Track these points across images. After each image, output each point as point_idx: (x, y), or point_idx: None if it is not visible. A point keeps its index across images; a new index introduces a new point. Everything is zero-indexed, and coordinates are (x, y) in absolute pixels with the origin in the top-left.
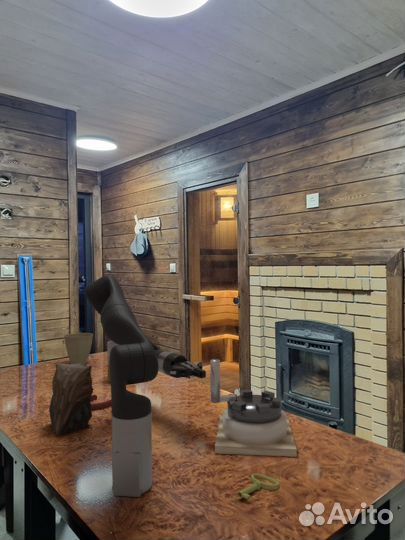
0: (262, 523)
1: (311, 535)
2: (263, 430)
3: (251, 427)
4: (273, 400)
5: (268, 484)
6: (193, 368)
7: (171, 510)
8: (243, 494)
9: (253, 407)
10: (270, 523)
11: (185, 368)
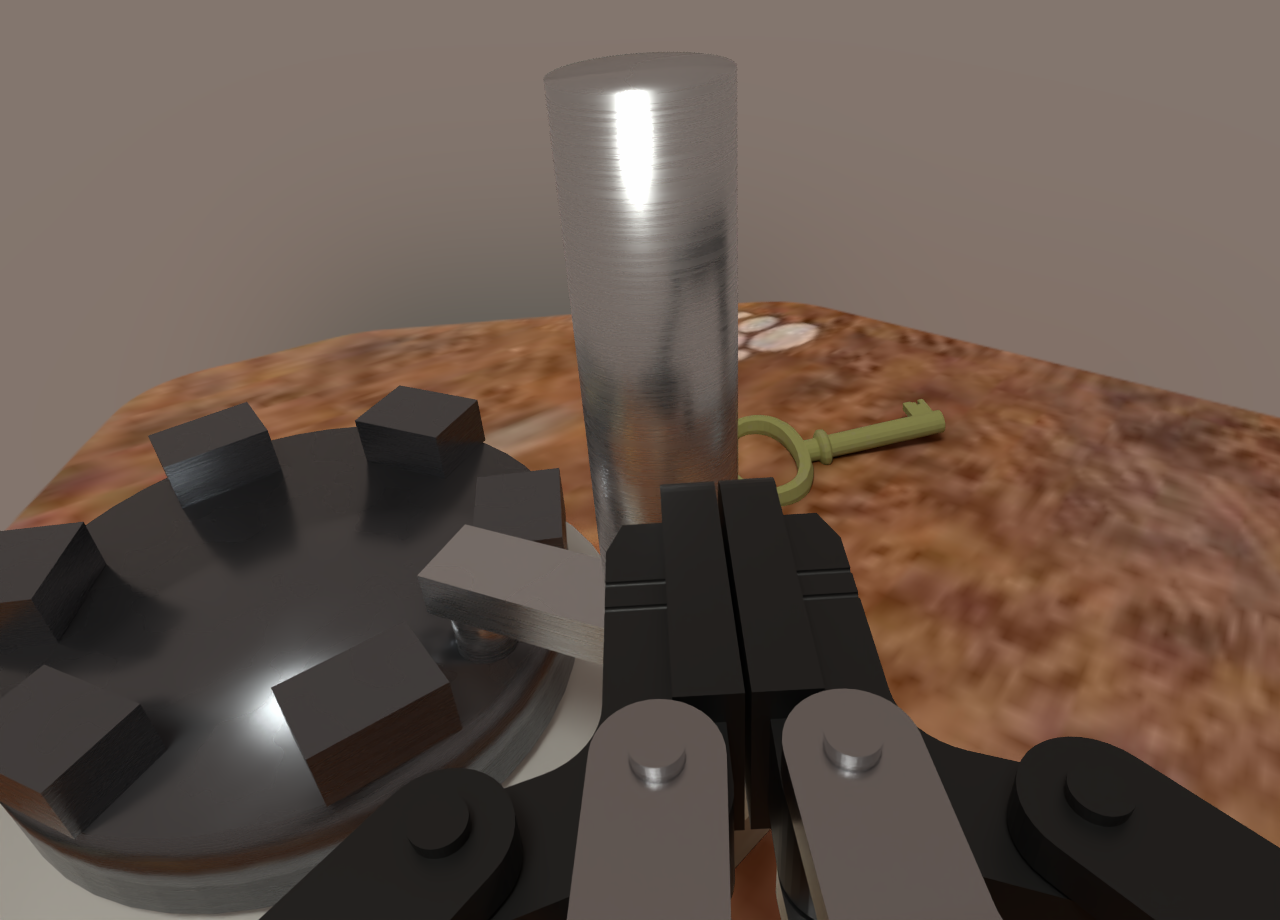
0: (929, 360)
1: (828, 308)
2: None
3: (568, 527)
4: (246, 434)
5: (780, 423)
6: (846, 716)
7: (1271, 497)
8: (926, 412)
9: (404, 517)
10: (904, 354)
11: (1147, 894)
